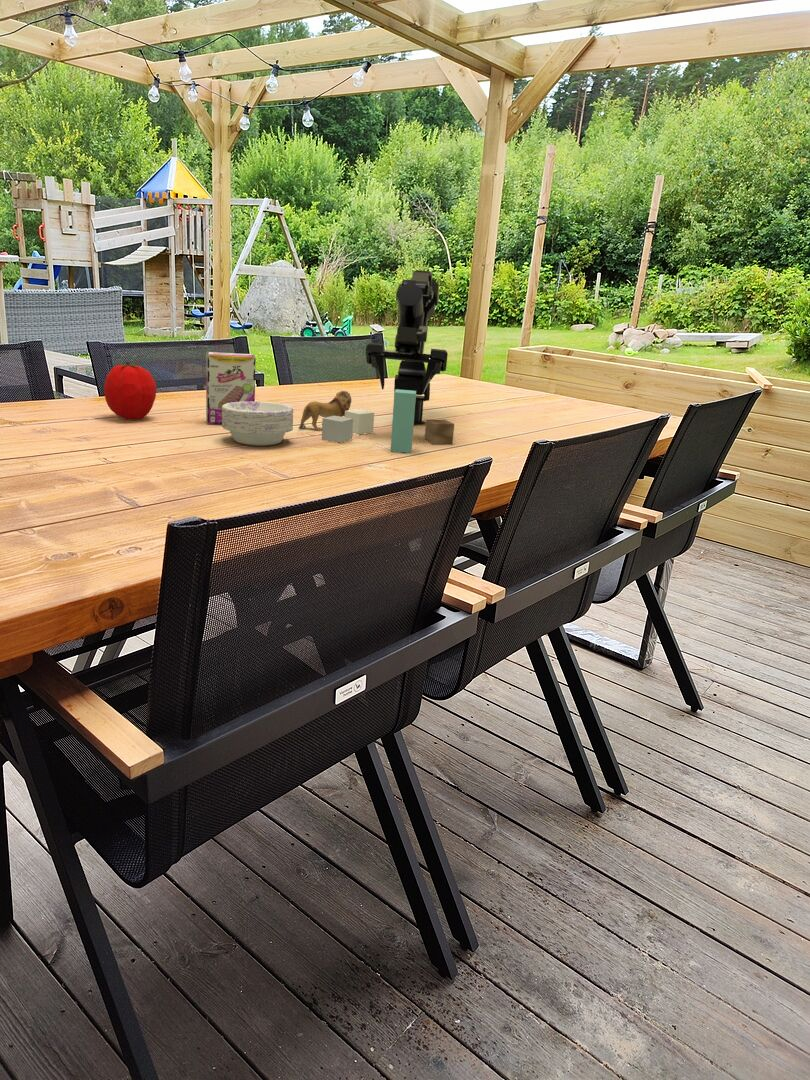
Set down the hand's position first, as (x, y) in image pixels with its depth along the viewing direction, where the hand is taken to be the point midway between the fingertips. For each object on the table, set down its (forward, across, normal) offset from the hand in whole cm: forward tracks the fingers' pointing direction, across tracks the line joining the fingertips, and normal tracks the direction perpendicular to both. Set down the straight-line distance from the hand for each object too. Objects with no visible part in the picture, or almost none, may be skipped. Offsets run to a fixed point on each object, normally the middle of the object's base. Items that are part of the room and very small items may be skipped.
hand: (402, 390), depth 175 cm
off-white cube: (+6, -10, +12) cm, 17 cm away
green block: (+15, +1, -1) cm, 15 cm away
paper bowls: (+18, -30, -4) cm, 35 cm away
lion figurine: (+6, -18, +13) cm, 24 cm away
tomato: (+11, -63, +7) cm, 65 cm away
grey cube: (+12, -14, +3) cm, 19 cm away
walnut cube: (+8, +9, +9) cm, 15 cm away
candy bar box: (+8, -41, +10) cm, 43 cm away
